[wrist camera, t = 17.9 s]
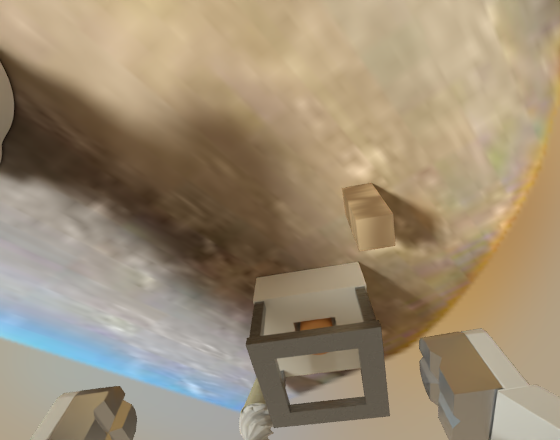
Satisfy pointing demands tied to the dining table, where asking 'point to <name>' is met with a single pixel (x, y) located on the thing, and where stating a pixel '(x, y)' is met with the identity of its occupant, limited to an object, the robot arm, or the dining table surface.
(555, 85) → the dining table surface
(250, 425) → the ice cream cone
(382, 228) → the wooden toy block
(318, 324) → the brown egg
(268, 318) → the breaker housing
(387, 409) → the guard frame
